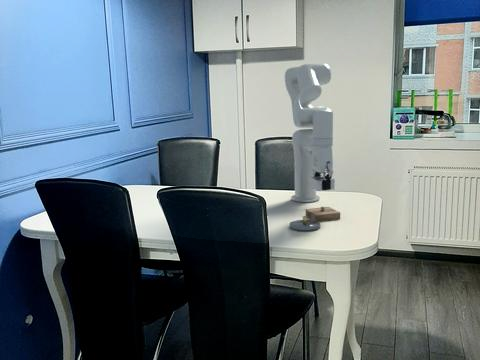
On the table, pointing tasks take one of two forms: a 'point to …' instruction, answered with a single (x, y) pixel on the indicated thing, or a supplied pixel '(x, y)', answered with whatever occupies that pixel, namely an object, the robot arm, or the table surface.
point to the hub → (304, 225)
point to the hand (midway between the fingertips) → (322, 187)
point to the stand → (322, 214)
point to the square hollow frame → (320, 183)
